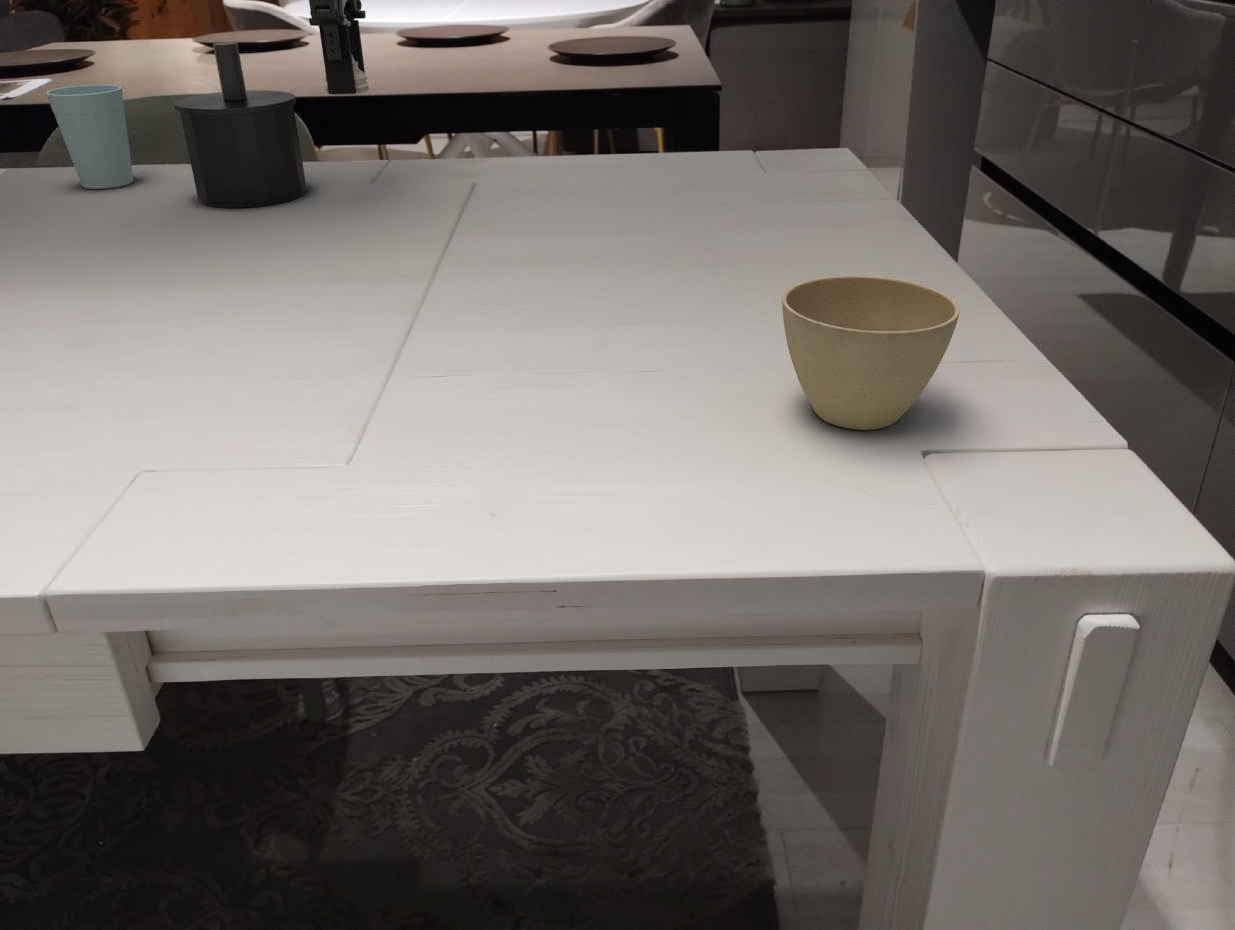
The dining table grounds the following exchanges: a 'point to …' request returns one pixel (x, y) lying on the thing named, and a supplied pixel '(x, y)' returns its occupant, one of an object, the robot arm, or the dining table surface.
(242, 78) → the pot lid
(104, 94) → the cup
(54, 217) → the dining table surface
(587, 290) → the dining table surface
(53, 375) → the dining table surface
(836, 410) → the flower pot
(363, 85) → the chess piece
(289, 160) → the pot
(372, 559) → the dining table surface
